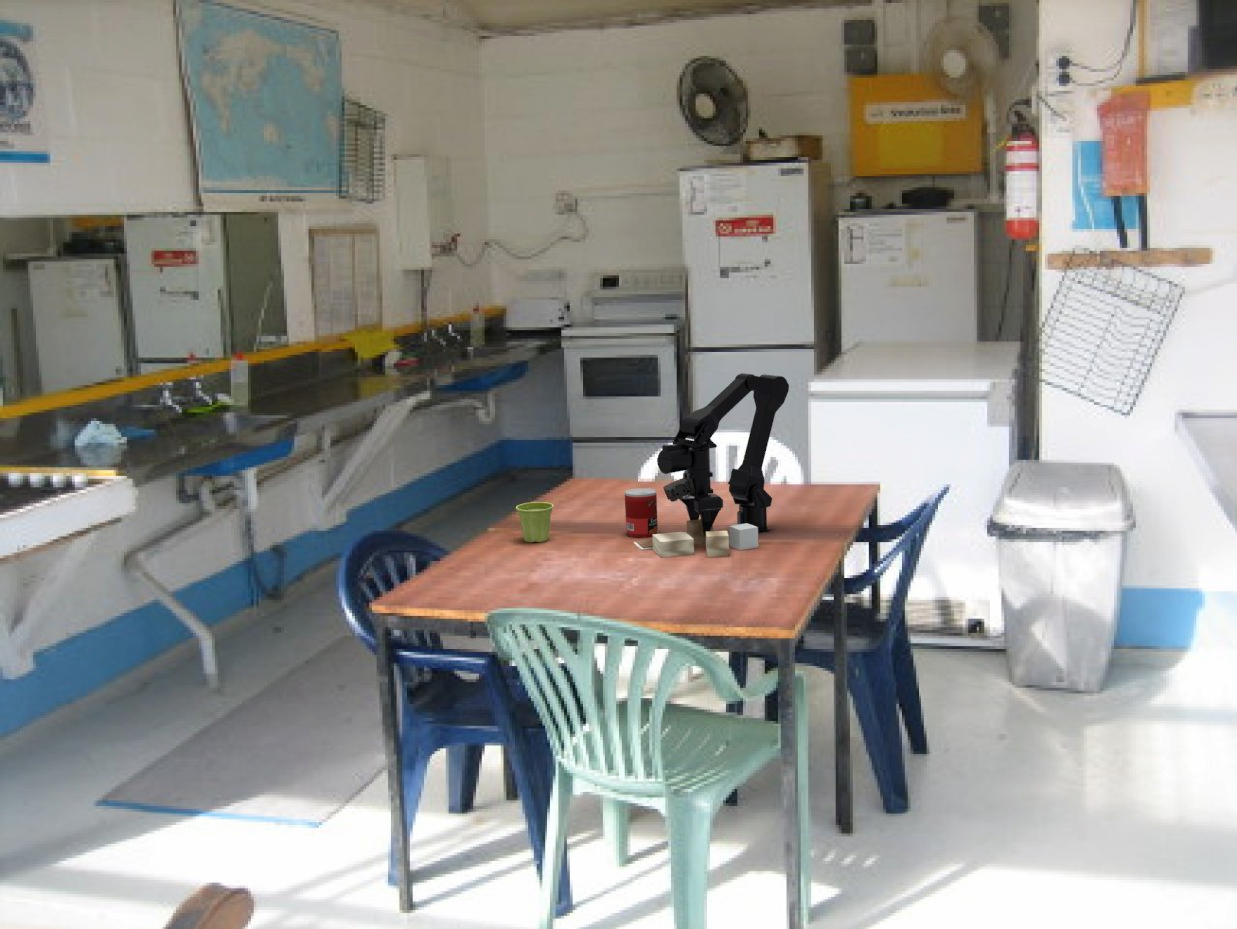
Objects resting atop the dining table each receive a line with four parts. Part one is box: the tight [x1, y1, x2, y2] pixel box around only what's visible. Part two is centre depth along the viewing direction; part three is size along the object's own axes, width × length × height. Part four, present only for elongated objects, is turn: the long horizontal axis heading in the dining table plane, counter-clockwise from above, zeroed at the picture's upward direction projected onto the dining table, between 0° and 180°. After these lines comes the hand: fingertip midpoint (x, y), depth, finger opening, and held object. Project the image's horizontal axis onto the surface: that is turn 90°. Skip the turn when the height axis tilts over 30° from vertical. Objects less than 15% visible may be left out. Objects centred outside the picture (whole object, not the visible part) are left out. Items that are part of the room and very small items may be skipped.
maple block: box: [705, 530, 730, 558], centre depth 311 cm, size 5×5×5 cm
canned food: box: [624, 487, 659, 538], centre depth 332 cm, size 8×8×11 cm
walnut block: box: [686, 518, 714, 546], centre depth 323 cm, size 5×5×5 cm
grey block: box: [728, 523, 759, 551], centre depth 316 cm, size 5×5×5 cm
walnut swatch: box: [633, 539, 653, 551], centre depth 321 cm, size 7×7×1 cm
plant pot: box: [515, 501, 555, 543], centre depth 331 cm, size 9×9×9 cm
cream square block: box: [652, 531, 695, 558], centre depth 314 cm, size 8×8×4 cm
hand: (700, 530), depth 323 cm, fingers open, 9 cm apart
